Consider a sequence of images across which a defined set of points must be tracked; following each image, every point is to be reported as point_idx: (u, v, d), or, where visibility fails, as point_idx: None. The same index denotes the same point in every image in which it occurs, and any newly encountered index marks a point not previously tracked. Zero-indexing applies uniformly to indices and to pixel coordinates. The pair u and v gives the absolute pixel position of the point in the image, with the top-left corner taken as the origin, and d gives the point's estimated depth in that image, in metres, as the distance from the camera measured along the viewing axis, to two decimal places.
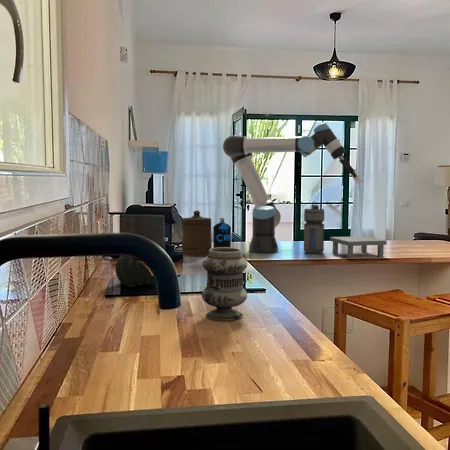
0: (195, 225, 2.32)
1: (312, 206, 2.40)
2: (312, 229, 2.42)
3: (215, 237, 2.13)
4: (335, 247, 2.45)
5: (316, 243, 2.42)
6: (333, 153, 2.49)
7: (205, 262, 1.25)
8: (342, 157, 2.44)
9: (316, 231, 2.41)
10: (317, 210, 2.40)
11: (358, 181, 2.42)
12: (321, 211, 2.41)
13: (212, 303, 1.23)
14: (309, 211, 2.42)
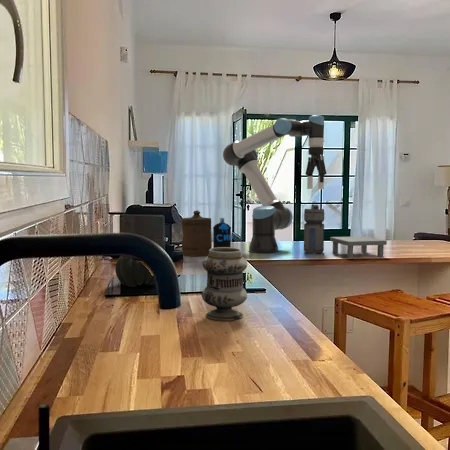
0: (195, 225, 2.32)
1: (312, 206, 2.40)
2: (312, 229, 2.42)
3: (215, 237, 2.13)
4: (335, 247, 2.45)
5: (316, 243, 2.42)
6: (314, 148, 2.40)
7: (205, 262, 1.25)
8: (322, 157, 2.38)
9: (316, 231, 2.41)
10: (317, 210, 2.40)
11: (320, 187, 2.38)
12: (321, 211, 2.41)
13: (212, 303, 1.23)
14: (309, 211, 2.42)
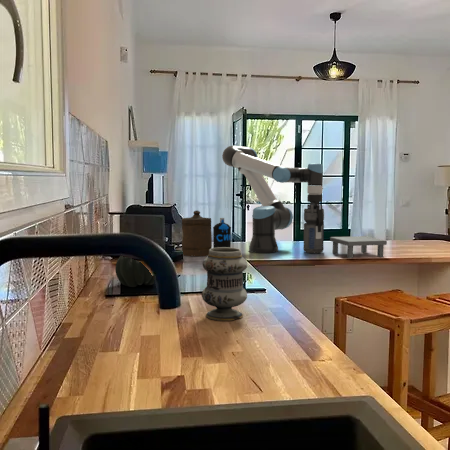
0: (195, 225, 2.32)
1: (311, 206, 2.41)
2: (312, 229, 2.42)
3: (215, 237, 2.13)
4: (335, 247, 2.45)
5: (316, 243, 2.42)
6: (313, 196, 2.42)
7: (205, 262, 1.25)
8: (320, 207, 2.39)
9: None
10: (316, 210, 2.41)
11: (318, 237, 2.42)
12: None
13: (212, 303, 1.23)
14: (309, 211, 2.42)
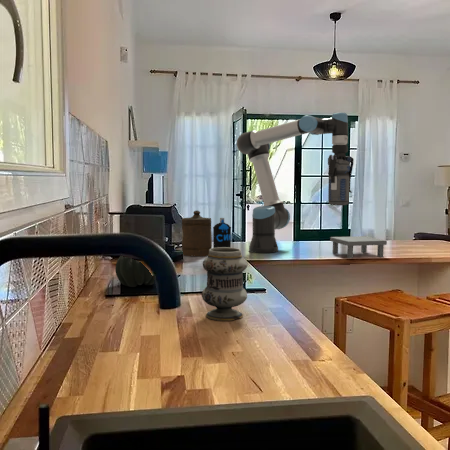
0: (195, 225, 2.32)
1: (329, 156, 2.39)
2: (330, 180, 2.40)
3: (215, 237, 2.13)
4: (335, 247, 2.45)
5: (332, 194, 2.38)
6: (332, 147, 2.39)
7: (205, 262, 1.25)
8: (332, 157, 2.34)
9: None
10: None
11: (333, 188, 2.37)
12: (337, 161, 2.35)
13: (212, 303, 1.23)
14: None
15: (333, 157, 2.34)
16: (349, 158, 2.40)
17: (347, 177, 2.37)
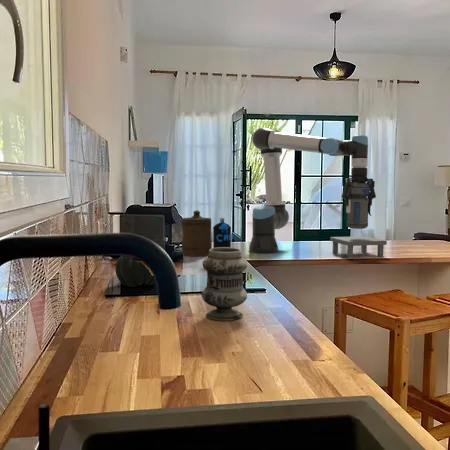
0: (195, 225, 2.32)
1: None
2: None
3: (215, 237, 2.13)
4: (335, 247, 2.45)
5: (347, 217, 2.39)
6: None
7: (205, 262, 1.25)
8: (346, 180, 2.35)
9: None
10: None
11: (347, 211, 2.37)
12: (351, 184, 2.35)
13: (212, 303, 1.23)
14: None
15: (347, 180, 2.35)
16: (369, 181, 2.35)
17: (362, 200, 2.33)
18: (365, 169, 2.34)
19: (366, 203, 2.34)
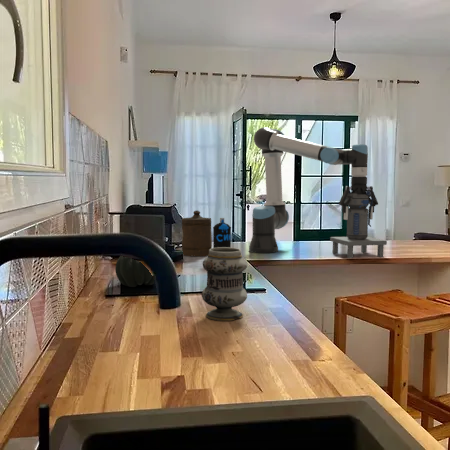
0: (195, 225, 2.32)
1: None
2: None
3: (215, 237, 2.13)
4: (335, 247, 2.45)
5: (347, 227, 2.39)
6: None
7: (205, 262, 1.25)
8: (346, 188, 2.36)
9: None
10: (348, 194, 2.37)
11: (344, 217, 2.37)
12: (351, 195, 2.35)
13: (212, 303, 1.23)
14: None
15: (346, 188, 2.35)
16: (368, 192, 2.35)
17: (361, 211, 2.34)
18: (365, 178, 2.34)
19: (366, 214, 2.35)
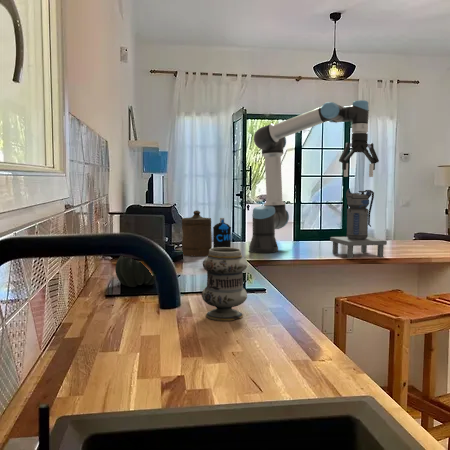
0: (195, 225, 2.32)
1: (347, 190, 2.40)
2: None
3: (215, 237, 2.13)
4: (335, 247, 2.45)
5: (347, 227, 2.39)
6: None
7: (205, 262, 1.25)
8: (346, 144, 2.34)
9: (347, 215, 2.39)
10: (348, 194, 2.38)
11: (344, 174, 2.36)
12: (351, 195, 2.35)
13: (212, 303, 1.23)
14: None
15: (347, 144, 2.34)
16: (368, 192, 2.35)
17: (361, 211, 2.34)
18: (365, 134, 2.32)
19: (366, 214, 2.35)
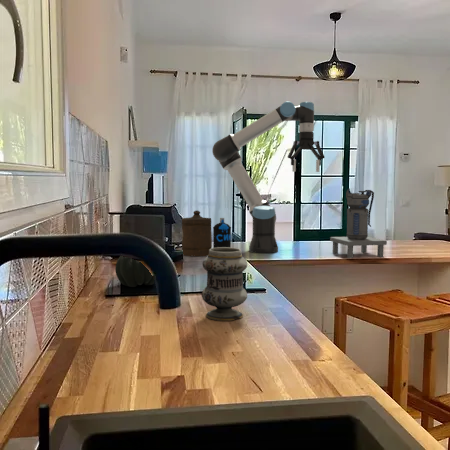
0: (195, 225, 2.32)
1: (347, 190, 2.40)
2: None
3: (215, 237, 2.13)
4: (335, 247, 2.45)
5: (347, 227, 2.39)
6: None
7: (205, 262, 1.25)
8: (294, 142, 2.56)
9: (347, 215, 2.39)
10: (348, 194, 2.38)
11: (293, 170, 2.58)
12: (351, 195, 2.35)
13: (212, 303, 1.23)
14: None
15: (294, 142, 2.56)
16: (368, 192, 2.35)
17: (361, 211, 2.34)
18: (311, 133, 2.55)
19: (366, 214, 2.35)
